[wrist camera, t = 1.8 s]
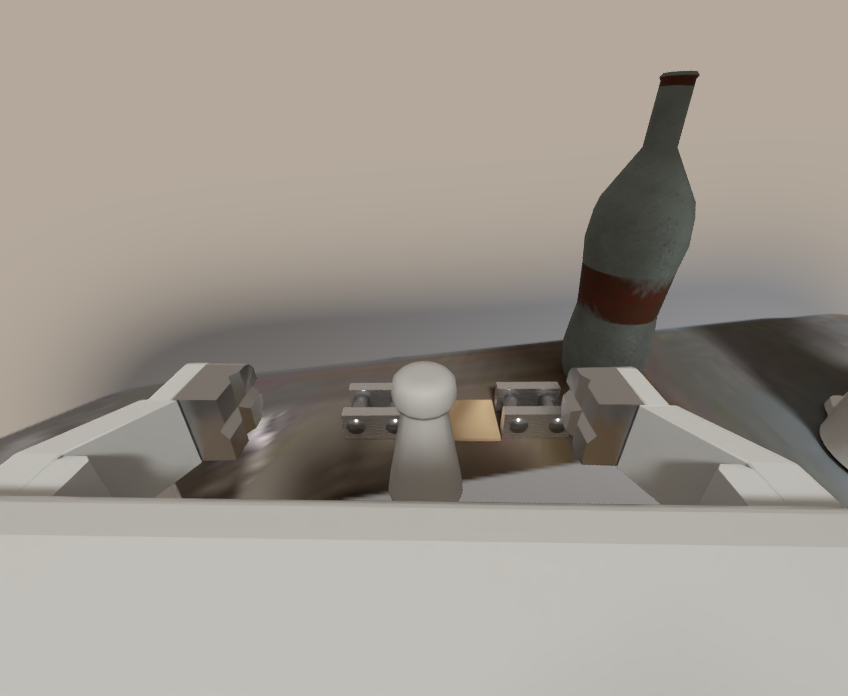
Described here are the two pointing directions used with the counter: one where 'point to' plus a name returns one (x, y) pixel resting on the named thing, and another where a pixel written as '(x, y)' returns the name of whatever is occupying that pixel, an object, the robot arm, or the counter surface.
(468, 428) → the pad
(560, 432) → the chain end
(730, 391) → the counter surface
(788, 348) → the counter surface
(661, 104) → the bottle
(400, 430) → the salt shaker
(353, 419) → the chain end
